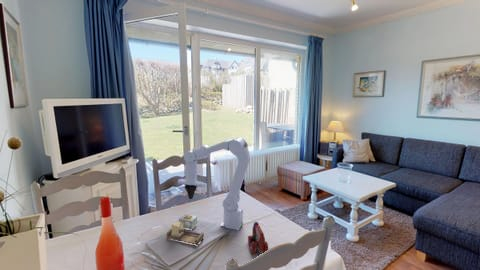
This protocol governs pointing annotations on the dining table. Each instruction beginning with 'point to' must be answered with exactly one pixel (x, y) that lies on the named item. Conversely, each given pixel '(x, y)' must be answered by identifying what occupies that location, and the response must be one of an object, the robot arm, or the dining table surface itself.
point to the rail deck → (187, 237)
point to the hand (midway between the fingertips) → (191, 198)
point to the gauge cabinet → (188, 221)
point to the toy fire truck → (257, 239)
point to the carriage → (177, 229)
